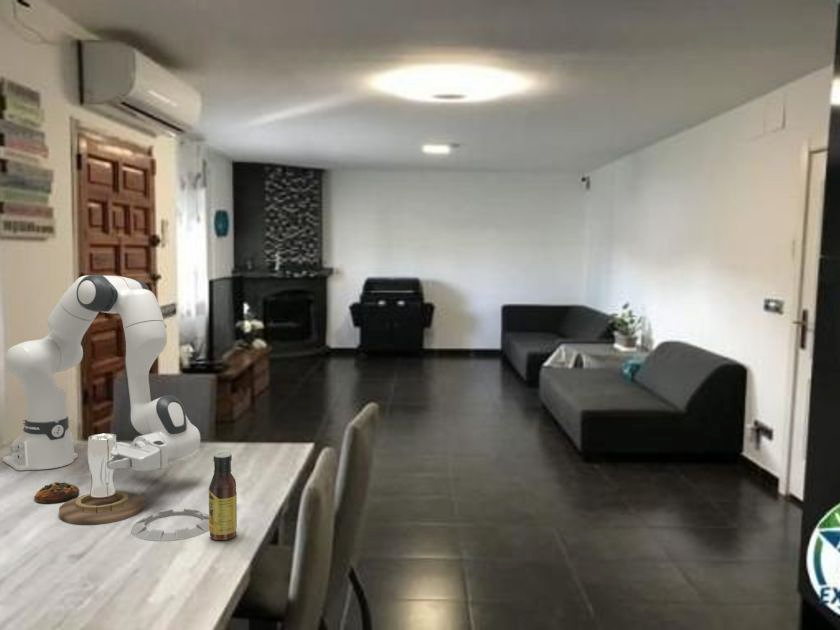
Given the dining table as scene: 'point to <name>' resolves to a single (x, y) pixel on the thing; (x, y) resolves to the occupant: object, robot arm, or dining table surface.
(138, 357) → the robot arm
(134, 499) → the round tray
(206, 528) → the ring
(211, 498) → the sauce bottle
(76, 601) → the dining table surface
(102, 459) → the beer glass
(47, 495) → the bread roll
